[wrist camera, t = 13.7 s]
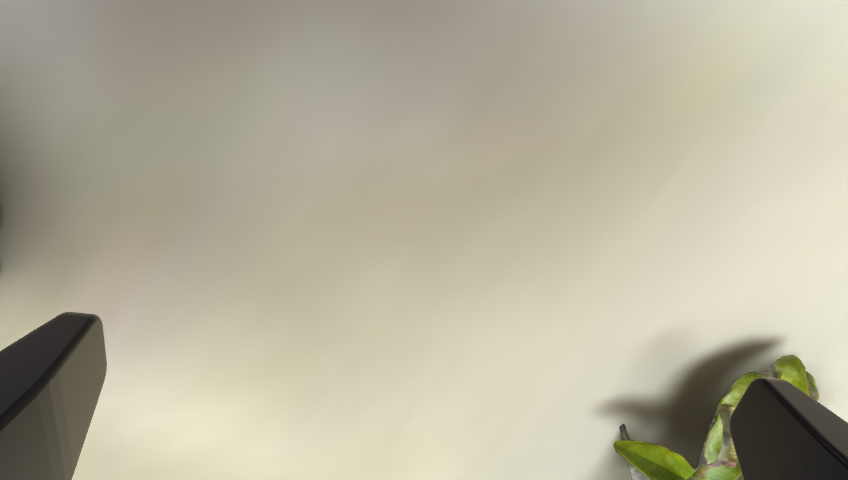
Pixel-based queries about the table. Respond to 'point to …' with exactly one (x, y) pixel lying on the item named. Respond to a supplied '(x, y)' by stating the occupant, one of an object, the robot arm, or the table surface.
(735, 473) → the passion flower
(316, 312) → the table surface
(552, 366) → the table surface
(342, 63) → the table surface
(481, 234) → the table surface
